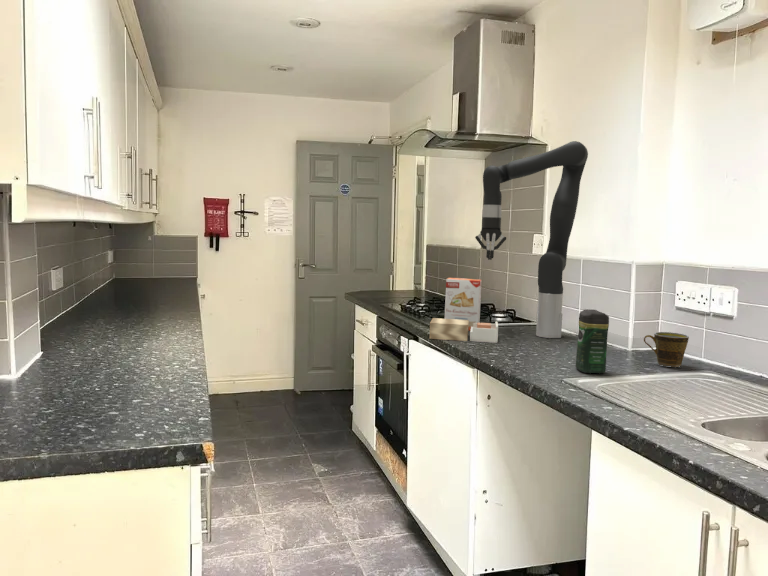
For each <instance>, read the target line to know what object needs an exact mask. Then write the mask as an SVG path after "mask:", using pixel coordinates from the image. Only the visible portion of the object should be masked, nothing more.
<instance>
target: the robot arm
mask: <svg viewBox="0 0 768 576" xmlns="http://www.w3.org/2000/svg"><path fill="white" fill-rule="evenodd" d="M588 156H589V151H588V148H587V147H586V146H585V145H584V143H582V142H580V141H577V140H575V141H569V142H567V143H565V144H563V145H560V146H558V147H556V148H554V149H551V150H548V151H546V152H542V153H538V154H535V155H530V156H527V157H526V156H525V157H523V158H519V159H515V160H512V161H509V162H508V163H505V164H503V165H502V164H501V165H498V166H496V165H493V164H492V165H488V166H486V168H485V169H484V171H483V173H482V185H483V192H484V193H483V206H482V207H483V208H482V212H481V213H482V214H481V218H482V219H481V230H480V233H479V234H478V235H476V236H475V237H474V238H475V240H476V241H477V243H478V245H480V247H481V248H482V250H483V249H484V250H485V251H486V256H485V257H486V259H487V260H488V261H489V260H490V261H492V259H494V255H495V250H498V249H499V248H500V247H501V246H502V245H503V243H504V242H505V241H506V240H507V237H506V236H504V235H503V232H502V230H501V229H502V214H503V213H502V192H501V189H500V188H501V184H503V183H506V182H510V181H511V180H516V179H520V178H524V177H528V176H531V175H534V174H537V173H540V172H542V171H544V170H547V169H552V168H555V167H562V172H561V178H560V181H559V183H558V186H557V189H556V191H555V193H554V196H553V200H552V205H551V209H550V215H549V240H548V244H547V248H546V251H545V253H544V254H542V256H540V258H539V261H538V267H537V287H538V295H537V312H536V313H537V316H536V326H535V327H536V328H535V331H536V332H535V333H536V334H535V335H536V336H537V337H540V338H547V339H560V338H562V326H563V297H564V294H563V293H564V285H563V274H564V273H563V272H564V270H565V269H566V265H567V257H568V247H569V240H570V237H571V233H572V230H573V226H574V221H575V219H576V214H577V208H578V203H579V197H580V187H581V186H580V185H581V181H582V176H583V174H584V173H583V172H584V170H585V166H586V163H587V160H588ZM482 238H483V240H484V241H485V242H486V245H485V244H484V243H483V242H482ZM498 240H500V241H499V242H498V243H497V244H495V243H496V242H497V241H498ZM490 242H491V243H490ZM490 244H491V245H490Z"/></svg>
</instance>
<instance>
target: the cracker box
mask: <svg viewBox="0 0 768 576" xmlns="http://www.w3.org/2000/svg"><path fill="white" fill-rule="evenodd" d="M482 281H483V280H482V279H475V278H463V277H462V278H461V277H447V278H446V279H445V282H446V283H445V295H444V296H445V302H444V318H443V319H459V320H469V327H468V332H470V331H471V327H473V323H481V322H480V320H481V319H480V317H481V303H482V302H481V300H482V299H481V298H482Z"/></svg>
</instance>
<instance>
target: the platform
mask: <svg viewBox="0 0 768 576" xmlns="http://www.w3.org/2000/svg"><path fill="white" fill-rule="evenodd" d="M468 327H469V320H459V319H444V318H438V317H432V318H431V321H430V322H429V340H444V341H445V340H446V341H460V342H468V340H469V339H468V338H469V331H468Z"/></svg>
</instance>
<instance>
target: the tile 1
mask: <svg viewBox="0 0 768 576" xmlns="http://www.w3.org/2000/svg"><path fill="white" fill-rule="evenodd" d="M491 324H492V323H491V322H480V323H477V328H489V329H491Z"/></svg>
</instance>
